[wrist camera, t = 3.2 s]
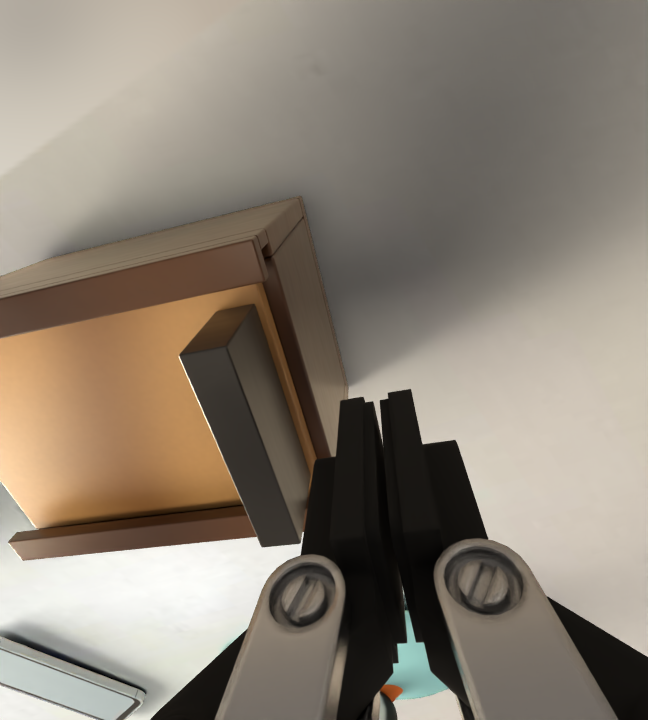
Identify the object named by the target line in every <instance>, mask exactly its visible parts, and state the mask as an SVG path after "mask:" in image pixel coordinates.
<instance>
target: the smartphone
mask: <svg viewBox="0 0 648 720" xmlns="http://www.w3.org/2000/svg"><path fill="white" fill-rule="evenodd" d="M0 686H3V687H6V688H8V689H11V690H14V691H17V692H20V693H23V694H25V695H28V696H31V697H34V698H37V699H39V700H42V701H45V702H48V703H51V704H54V705H56V706H59V707H62V708H65V709H68V710H71V711H73V712H76V713H79V714H82V715H85V716H88V717H90V718H93V719H96V720H126V719H127V718H128V717H129V716H131V715H132V714H133V713H134V712H135V711H136V710H137V709H138V708H139V707H141V706H142V705H143V702H144V699H145V696H146V695H145V693H144V692H143V691H141V690H139V689H136V688H134V687H131V686H128V685H126V684H123V683H121V682H118V681H115V680H113V679H110V678H107V677H105V676H102V675H100V674H97V673H94V672H92V671H89V670H86V669H84V668H81V667H79V666H76V665H73V664H71V663H68V662H65V661H63V660H60V659H58V658H55V657H52V656H50V655H47V654H44V653H42V652H39V651H37V650H34V649H31V648H29V647H27V646H26V645H23V644H18V643H16V642H13V641H11V640H9V639H7V638H5V637H0Z"/></svg>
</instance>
